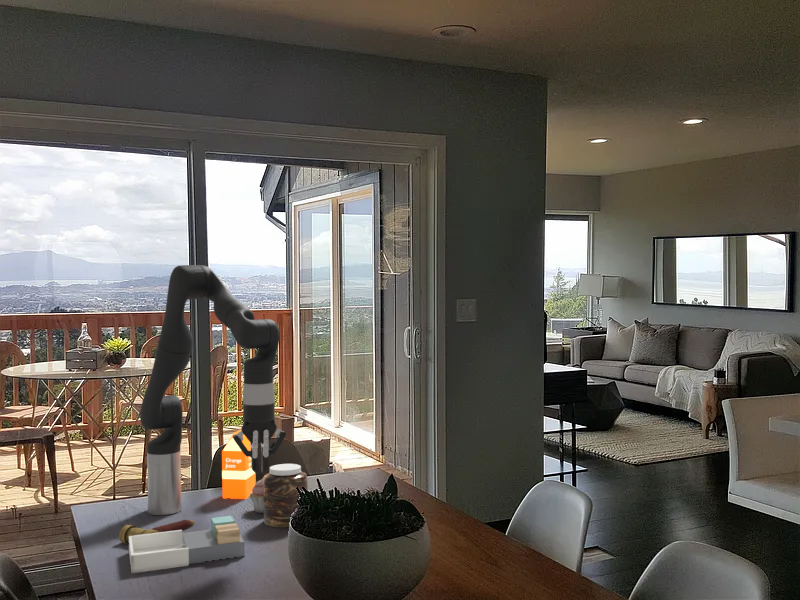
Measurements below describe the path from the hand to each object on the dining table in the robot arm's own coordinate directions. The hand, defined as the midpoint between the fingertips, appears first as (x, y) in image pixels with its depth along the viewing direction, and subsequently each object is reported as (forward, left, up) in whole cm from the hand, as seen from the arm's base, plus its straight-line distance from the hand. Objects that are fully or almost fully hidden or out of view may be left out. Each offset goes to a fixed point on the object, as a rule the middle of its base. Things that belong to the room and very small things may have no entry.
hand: (259, 472), depth 187 cm
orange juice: (-54, +4, -19) cm, 57 cm away
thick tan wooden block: (0, -8, -16) cm, 17 cm away
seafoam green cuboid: (-7, -8, -16) cm, 19 cm away
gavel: (-22, -21, -20) cm, 36 cm away
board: (-4, -11, -19) cm, 22 cm away
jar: (-21, +11, -19) cm, 30 cm away
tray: (-4, -24, -19) cm, 31 cm away
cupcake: (-34, +8, -19) cm, 39 cm away
